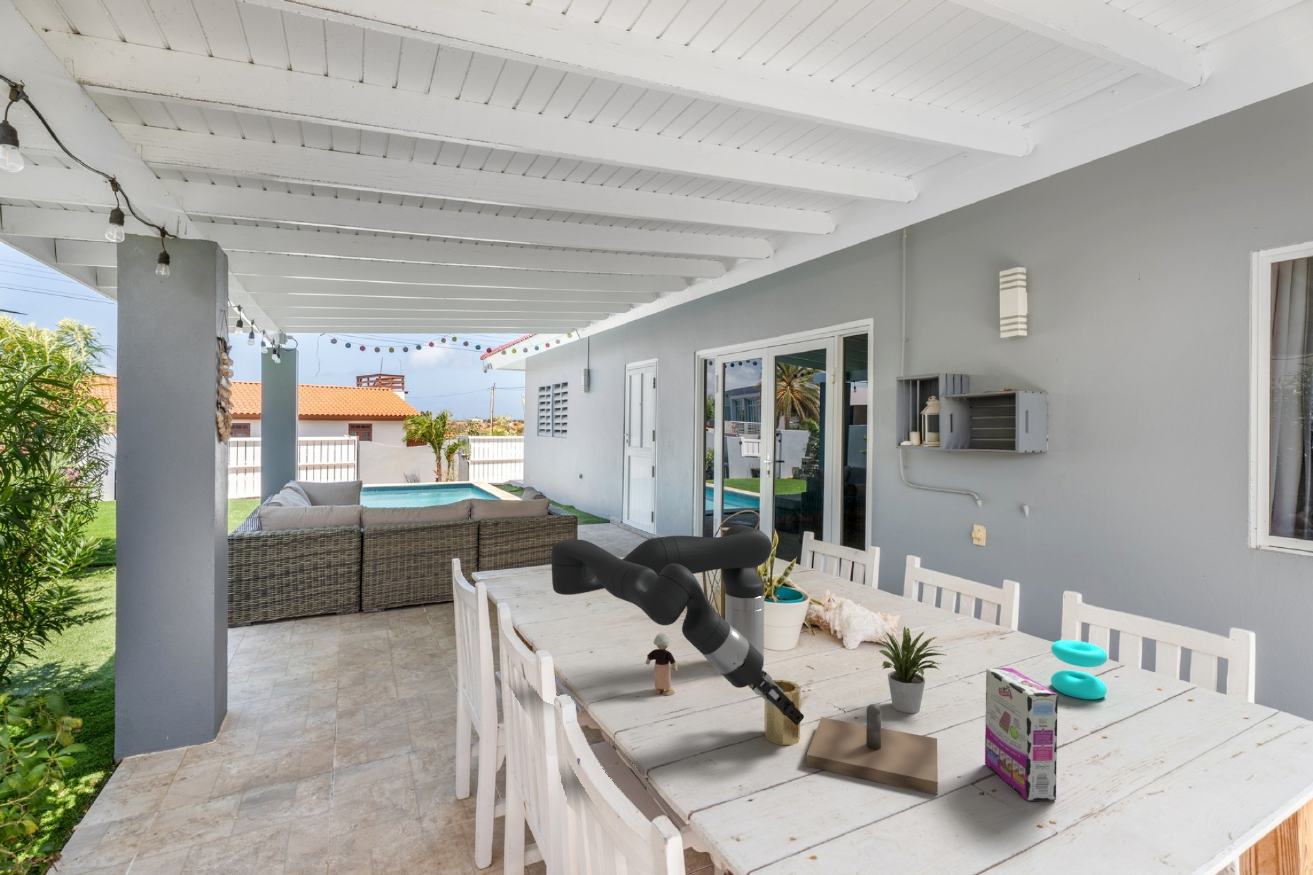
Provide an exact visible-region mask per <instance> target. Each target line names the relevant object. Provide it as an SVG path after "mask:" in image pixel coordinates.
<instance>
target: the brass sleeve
mask: <svg viewBox="0 0 1313 875" xmlns="http://www.w3.org/2000/svg"><path fill="white" fill-rule="evenodd" d="M772 680H773V681H774V682H775V683H776V684H777V685H778V686H779V687H780V688H781V689H782V690H783V694H784V695H785V696H786V697H787V698H788V699H790V700H791V701H792V702H793V703H794V705H795V707H796V708H797V709H798V710H799V711H800V712H801V686H799V685H798V684H797V683H795V682H793V681H791V680H785V679H772ZM764 696H765V695H764ZM765 697H766V696H765ZM763 735H764V737H765V738H766V740H767V741H768V742H771V743H772V744H776V745H781V746H789V745H791V746H793V745H794V744H797V743H799V741H800V740H801V722H800V723H799V724H798V725H795V724H794V723H793V722H792V721H791V720H790V719H789V718H788V717H786V716H784V715H783V714H782V713H781V712H780V710H779V709H778V708H777V707H776V706H775V705H773V706H771V705H770V704H769V703H768V702H766V701H765V700H764V734H763Z"/></svg>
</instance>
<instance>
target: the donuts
mask: <svg viewBox="0 0 1313 875" xmlns="http://www.w3.org/2000/svg"><path fill="white" fill-rule="evenodd" d="M1050 650H1051V652H1052V655H1053V656H1054V657H1055V658H1057V659H1058V660H1059V661H1060V662H1063V663H1066V664H1068V665H1072V666H1075V667H1081V668H1097V667H1101V666H1103V665H1105V663H1106V662H1107V660H1108V655H1107V652H1106V651H1105V650H1104V649H1103V648H1101V647H1100V646H1098V645H1096V644H1092V643H1090V642H1086V641H1082V640H1074V639H1060V640H1057V641H1054V642H1053V643H1052V644H1051V648H1050ZM1050 682H1051V685H1052V686H1053V688H1054V689H1055V690H1056V691H1057V692H1060V693H1061V694H1063V695H1065V696H1068V697H1072V698H1077V699H1082V700H1099V699H1102V698H1104V697H1105V696H1106V695H1107V692H1108V690H1107V687H1106V684H1105V683H1104V682H1103V681H1102V680H1101V679H1100V678H1098V677H1096V676H1094V675H1092V674H1090V673H1087V672H1084V671H1078V670H1072V669H1071V670H1069V669H1065V670H1063V669H1062V670H1059V671H1056V672H1054V674H1052V675H1051V677H1050Z"/></svg>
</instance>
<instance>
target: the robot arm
mask: <svg viewBox="0 0 1313 875" xmlns="http://www.w3.org/2000/svg"><path fill="white" fill-rule="evenodd" d="M772 550H773V545H772V542H771V539H770V538H769V536H768V535H767V534H766V533H764V532H763V531H762V530H760V529H758V528H756V527H752V526H749V525H746V524H745V525H744V524H734V525H732V526H730V527H729V528H727V529H726V531H725V532H724V534H723V536H718V537H717V536H716V537H708V536H698V535H697V536H695V535H694V536H693V535H668V536H661V537H652V538H648V539H646V540H644V541H643V542H641V543H640V544H639V545H637V546H636V547H635V548H634V549H633V550H631V551H630V552H629V553H628V554H627V555H626V556H624V557H623V558H620V557H617V556H616V555H614V554H612V553H611V552H609V551H608V550H606V549H604V548H601V547H600V546H598V545H597V544H595V543H593V542H592V541H591V542H590V541H587V540H584V539H579V538H576V539H575V538H574V539H572V538H571V539H564V540H561V541H558V542H555V544H554V545H553V546H552V548H551V552H550V555H551V556H550V560H551V562H550V563H551V579H552V580H551V581H552V582H551V583H552V589H553V591H554V592H555V593H557V594H559V595H561V596H562V595H564V596H571V595H580V594H585V593H591V592H595V591H600V590H603V589H605V590H606V591H607V592H608V593H610V595H612V596H614V597H615V598H618V599H620V600H622V601H626V602H628V603H631V604H634V605H635V606H637V607H638V608H639V609H640V610H642V611H643V612H644V614H645V615H646V616H647V617H648V618H649V619H650V620H652V622H654V623H655V624H657V625H660V626H669V625H672V624H674V623H675V622H676V621H678V619H679V618H680V616H681V615H682V614H683V612H684V610H685V609H686V613H685V616H684V620H683V623H682V626H681V631H682V635H683V636H684V638H686V640H687V641H688V642H689V643H690V644H691V645H692V646H693V647H694V648H695V649H696V650H698V652H700V653H701V654H702V655H703V657H704V658H705V659H706V661H708V663H709V664H710V665H711V666H712V667H713V668H714V669H715V670H716V671H717V672H718V673H719V674H721V675H722V676H723V677H724V679H726V681H728V682H729V683H730V684H731V686H733V687H735V688H739V689H743V688H745V687H747V686H748V688H749V689H751V690H752V691H753V692H754V693H755V694H756V695H757V696H760V697H761V698H762V699H763V700H764V702H765V701H766V702H768V703H769V704H770V705H771V706H773V705H775V706H776V707H777V708H778V709H779V710H780V712H781V713H782V714H783V715H784V716H786V717H788V718H789V719H790V720H791V721H792V722H793V723H794V724H795V725H798V724H799V723H800V724H801V722H802V721H803V720H804V718H805V715H804V714H803V713H802V712H801V710H800V711H799V710H798V709H797V708H796V707H795V705H794V703H793V702H792V701H791V700H790V699H788V698H787V697H786V696H785V695H784V694H783V690H782V689H781V688H780V687H779V686H778V685H777V684H776V683H775V682H774V681H773V680H774V679H773V678H772V676H771V675H770V674H768V673H767V672H766V671H765V670H763V668H764V667H765V666H764V664H765V663H764V662H765V646H764V645H765V583H764V582H763V579H762V578H761V577H760V575H759V573H758V570H757V568H758V567H760V566H761V565H763V564H765V562H767V561H768V559H770V556H771V554H772ZM715 570H721V577H722V581H723V584H724V590H725V594H724V596H725V598H724V600H725V602H724V608H725V609H724V616H725V617H722V616H721V615H720V614H719V613H718V612H717V611H716V609H715V608H714V607H713V605H712V604H711V602H710V601H709V599H708V597H707V596H706V593H705V592H704V590H703V588H702V587H701V584H700V582H699V581H698V579H697V578H696V576H695V575H694V574H700V573H701V574H702V573H705V572H710V571H715ZM765 696H766V697H765Z"/></svg>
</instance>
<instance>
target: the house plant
mask: <svg viewBox="0 0 1313 875" xmlns="http://www.w3.org/2000/svg"><path fill="white" fill-rule="evenodd" d="M903 627H904V628H903V630H902V642H901V643H902V644H901V646H900V644H899V642H898V640H897V639H896V638H895V637H894V636H892V635H891V634H890V633H889V632H887V631H885V633H886V635H887V636H888V639H889V641H888V640H887V638H886V637H883V636H882V638H883V639H884V640H882V639H881V638H877V639H878V640H875V642H881V643H883V645H884V646H885V647H886V648H887V650H888V651H887V650H886V649H885V650H884V649H880V650H878V652H879V653H880V654H882V655H884V656H886V658H888V659H889V660H890V661H891V662H892V663H893V664H892V663H891V662H890V661H887V660H884V661H882V665H881V667H882V669H881V670H883V669H884V670H885V669H889V668H893V669H894V670H892V671H890V672H888V673H887V678H888V679H887V680H888V686H889V691H890V698H891V704H892V708H893V709H894V710H896V711H898V712H901V713H904V714H905V713H906V714H917V713H918V712H920V710H921V705H922V701H923V700H922V699H923V694H924V689H925V685H926V684H925V682H926V679H925V677H924V674H925V672H924V670H925V669H937V670H938V671H941V670H940V668H938V667H937V666H936V665H938V666H940V664H941V665H943V663H940V662H937V661H934V660H924V661H923V659H925V658H927V657H933V656H946V654H945V653H939V652H938V650H937V649H933V648H942V646H938V645H936V646H935V645H934V646H929V644H930V643H931V642H932V641H933V640H935V639H937V638H938V636H934V637H931V638H929V639H927V640H925V641H924V642H923V643H922V644H921V645H920V646H919V647H918V646H917V644H918V643H919V641H920V639H921V637H923V635H924V633H925V631H923V632H921V633H920V634H918V636H917V637H916V638H914V640H913V641H912V637H911V634H910V633H911V632H910V631H911V630H910V628H909V627H908V628H906V626H903ZM891 644H892V645H891ZM927 646H929V647H927ZM930 651H933V652H930ZM937 652H938V653H937ZM927 663H929V664H927ZM940 667H941V666H940Z"/></svg>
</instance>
